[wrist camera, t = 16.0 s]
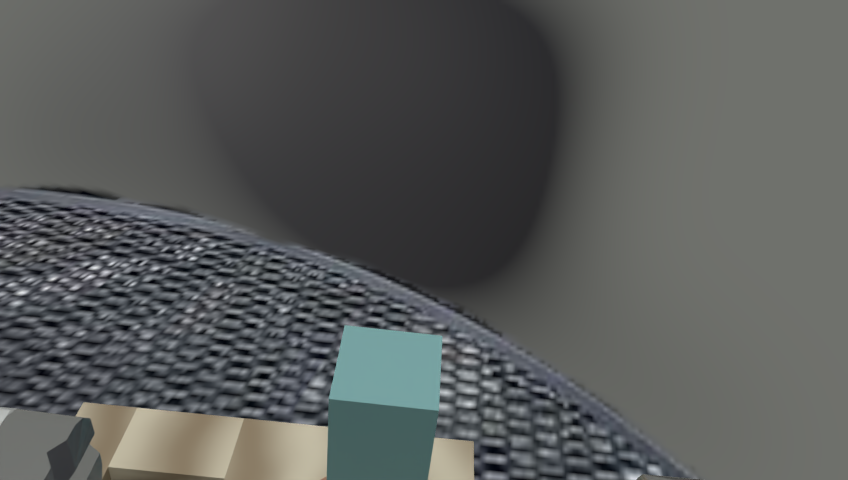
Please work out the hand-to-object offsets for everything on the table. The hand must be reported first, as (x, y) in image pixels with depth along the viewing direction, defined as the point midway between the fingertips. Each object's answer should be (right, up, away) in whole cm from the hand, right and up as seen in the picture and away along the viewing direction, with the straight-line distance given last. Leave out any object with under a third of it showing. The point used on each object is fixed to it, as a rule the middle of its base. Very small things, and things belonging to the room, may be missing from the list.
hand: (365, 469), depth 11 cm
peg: (-2, -11, +24) cm, 26 cm away
